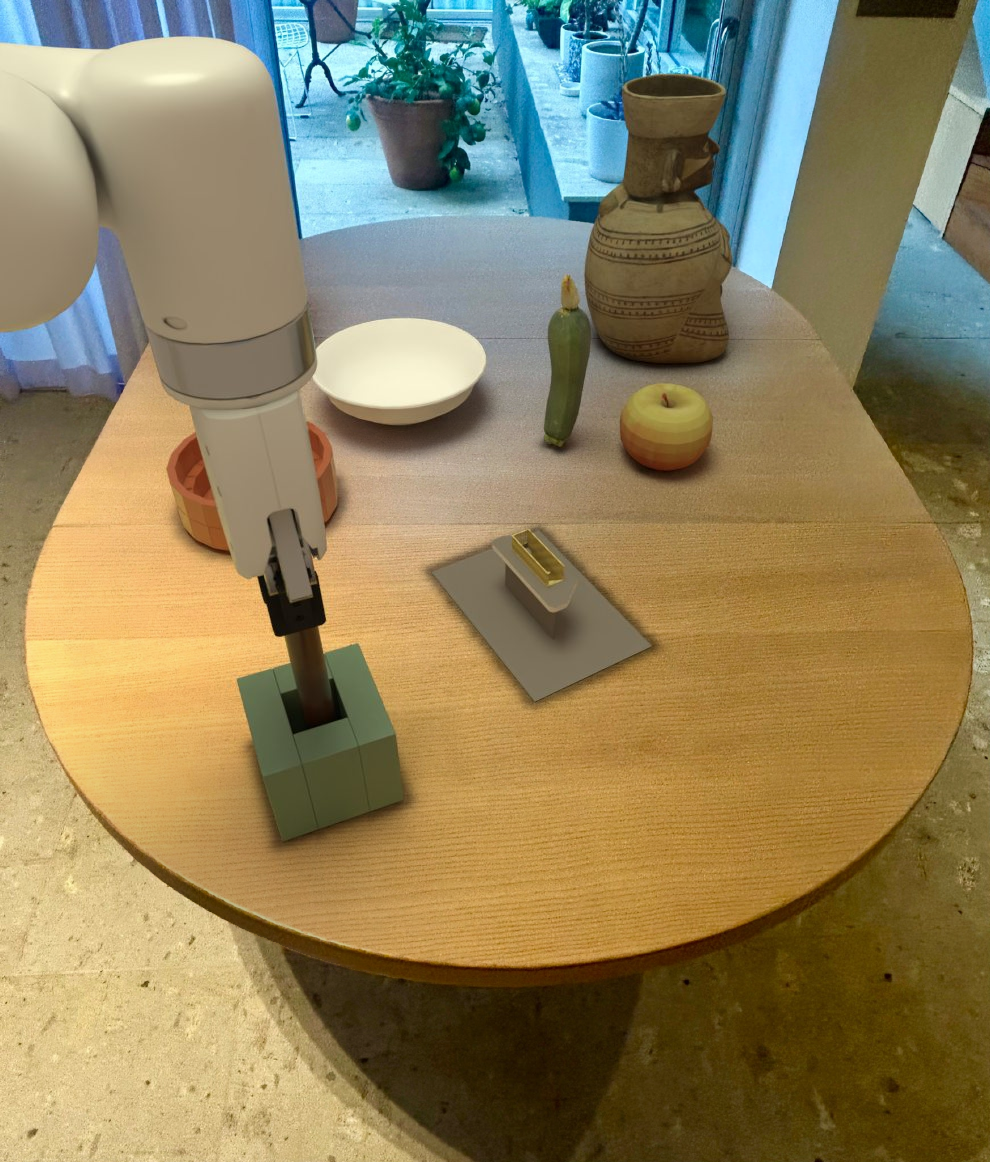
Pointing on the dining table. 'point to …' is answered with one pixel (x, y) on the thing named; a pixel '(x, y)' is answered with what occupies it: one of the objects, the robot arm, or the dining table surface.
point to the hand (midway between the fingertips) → (294, 610)
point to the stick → (310, 675)
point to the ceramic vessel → (662, 230)
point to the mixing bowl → (198, 497)
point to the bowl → (399, 369)
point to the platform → (539, 613)
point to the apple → (666, 426)
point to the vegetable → (566, 364)
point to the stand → (322, 746)
